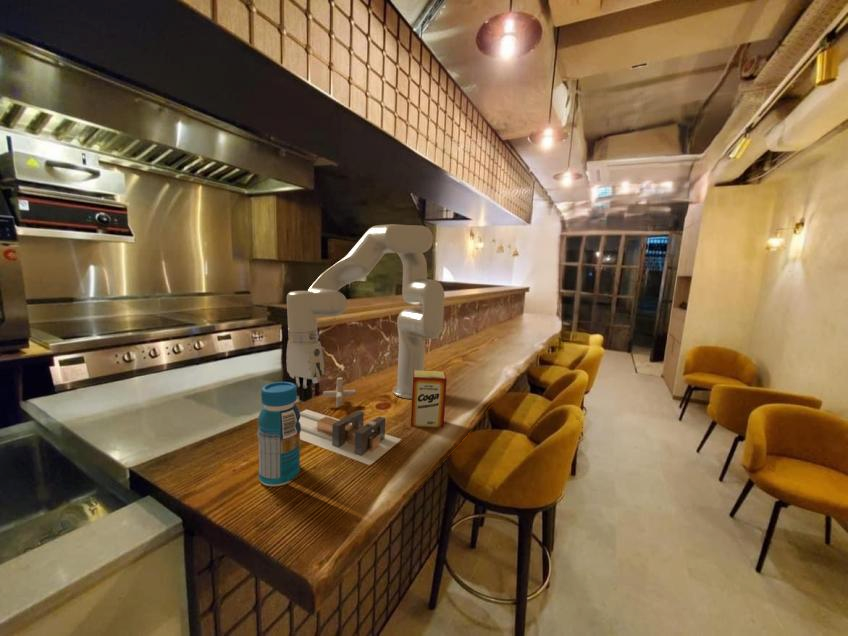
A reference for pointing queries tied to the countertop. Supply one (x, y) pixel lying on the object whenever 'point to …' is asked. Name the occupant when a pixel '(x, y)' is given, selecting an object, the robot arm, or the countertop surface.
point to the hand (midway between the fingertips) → (305, 399)
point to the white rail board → (325, 441)
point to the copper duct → (348, 432)
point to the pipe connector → (339, 392)
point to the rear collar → (339, 427)
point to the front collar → (362, 434)
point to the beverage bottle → (279, 434)
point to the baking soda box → (428, 398)
